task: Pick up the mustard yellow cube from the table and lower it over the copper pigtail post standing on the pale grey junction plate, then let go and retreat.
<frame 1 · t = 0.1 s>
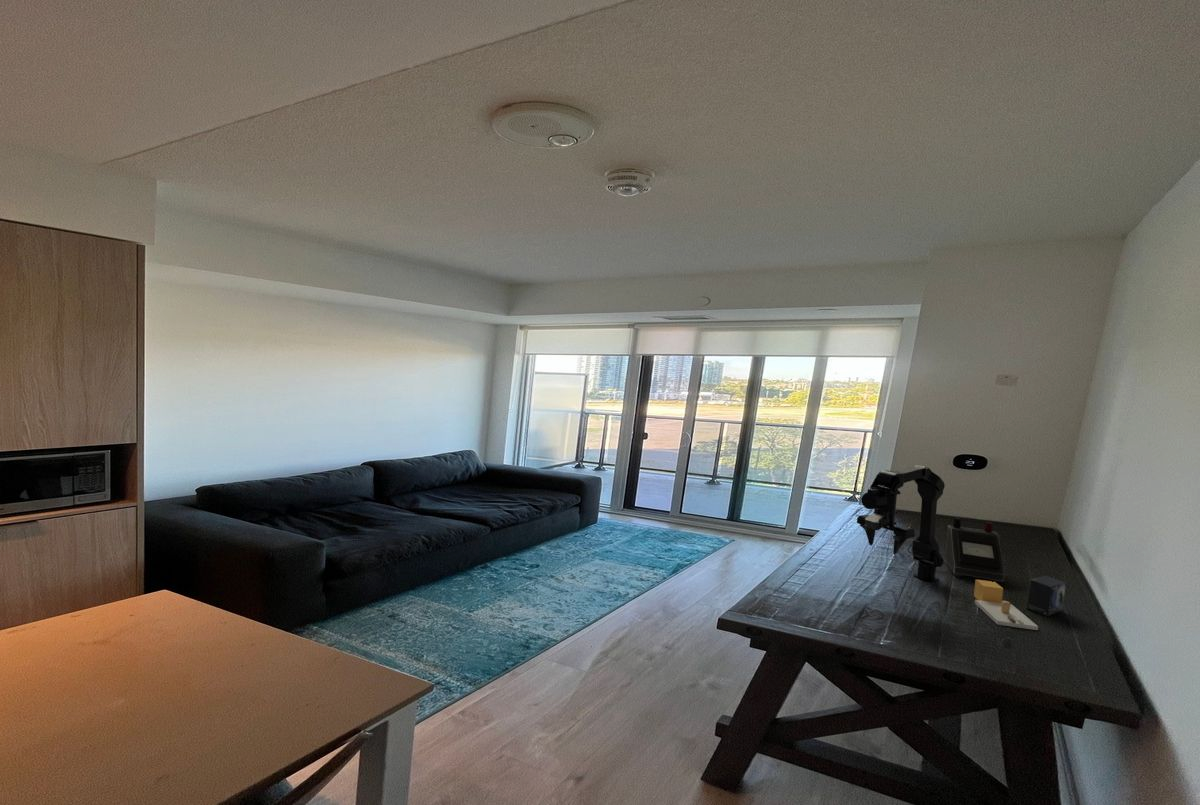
hand: (882, 549, 191), 15 cm above the table, fingers open, 9 cm apart
mustard yellow cube: (987, 600, 187), on the table
junction plate: (1004, 615, 175), on the table
small box: (1044, 611, 181), on the table
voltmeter: (972, 574, 212), on the table
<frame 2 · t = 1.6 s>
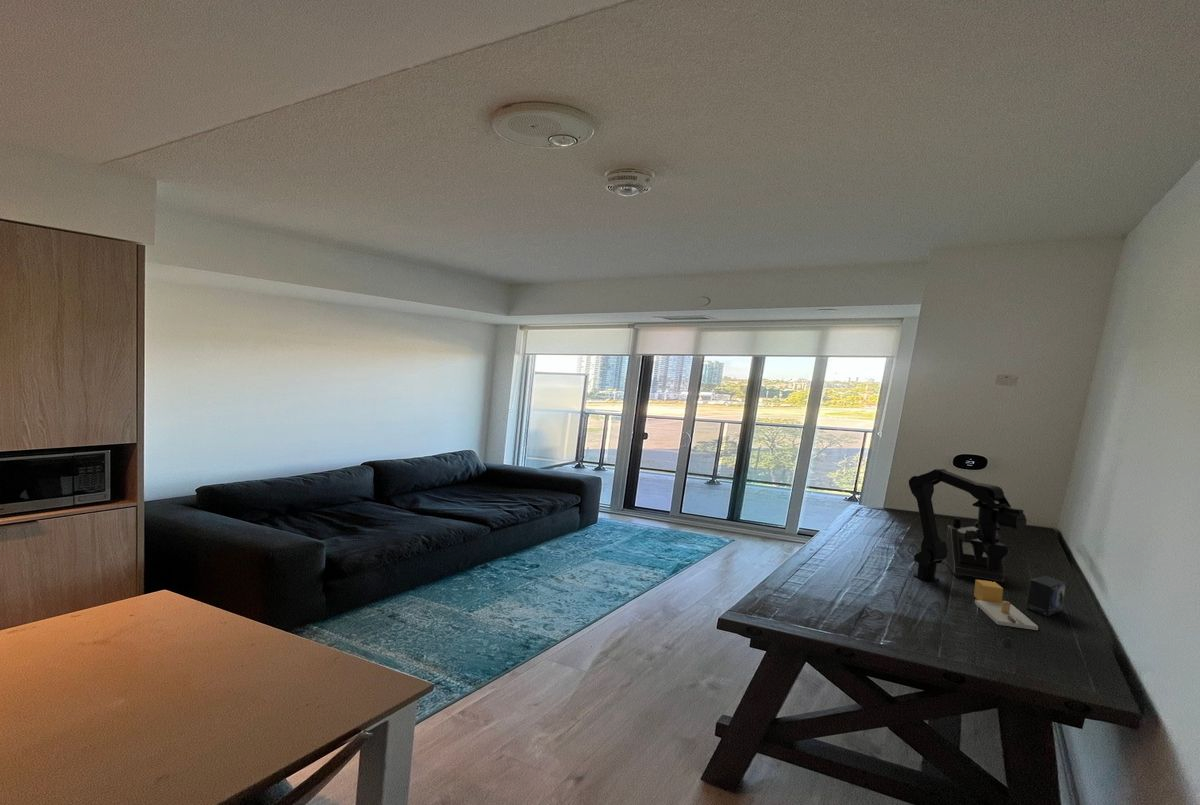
hand: (983, 565, 186), 12 cm above the table, fingers open, 9 cm apart
nothing on the table moved.
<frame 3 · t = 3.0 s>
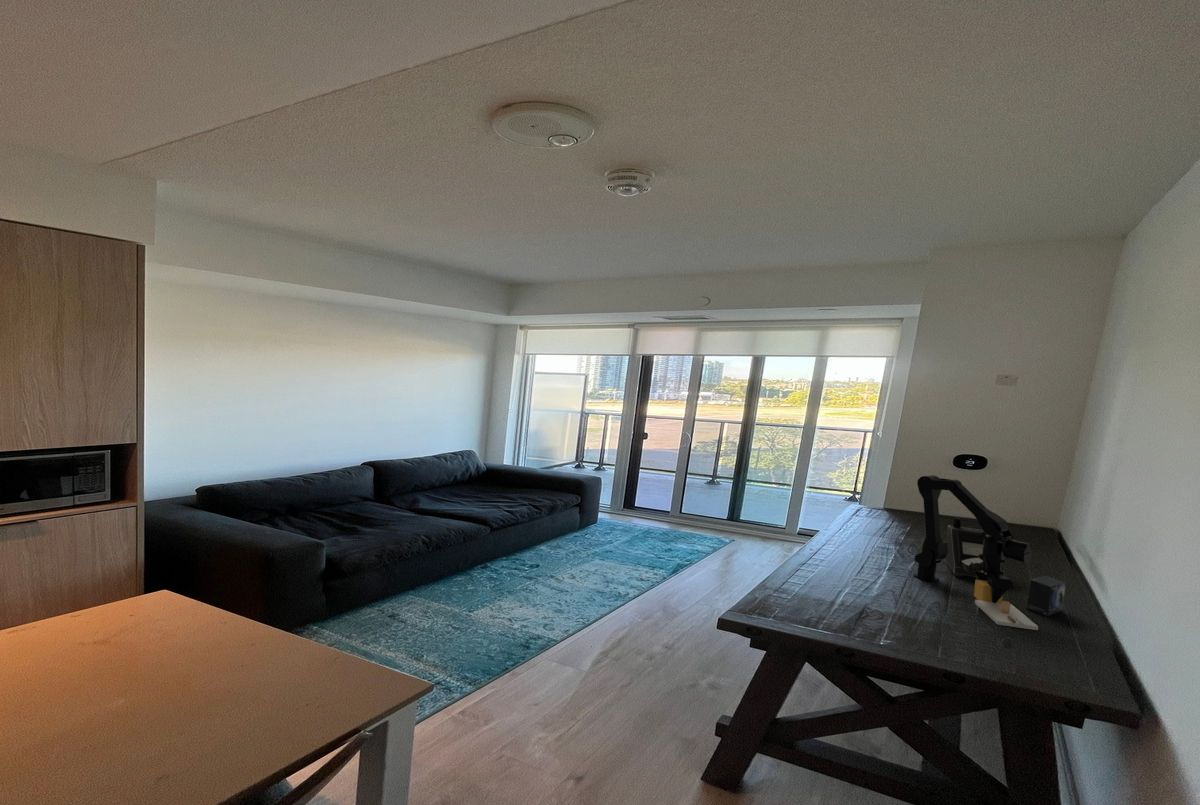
hand: (987, 597, 187), 1 cm above the table, fingers open, 9 cm apart
nothing on the table moved.
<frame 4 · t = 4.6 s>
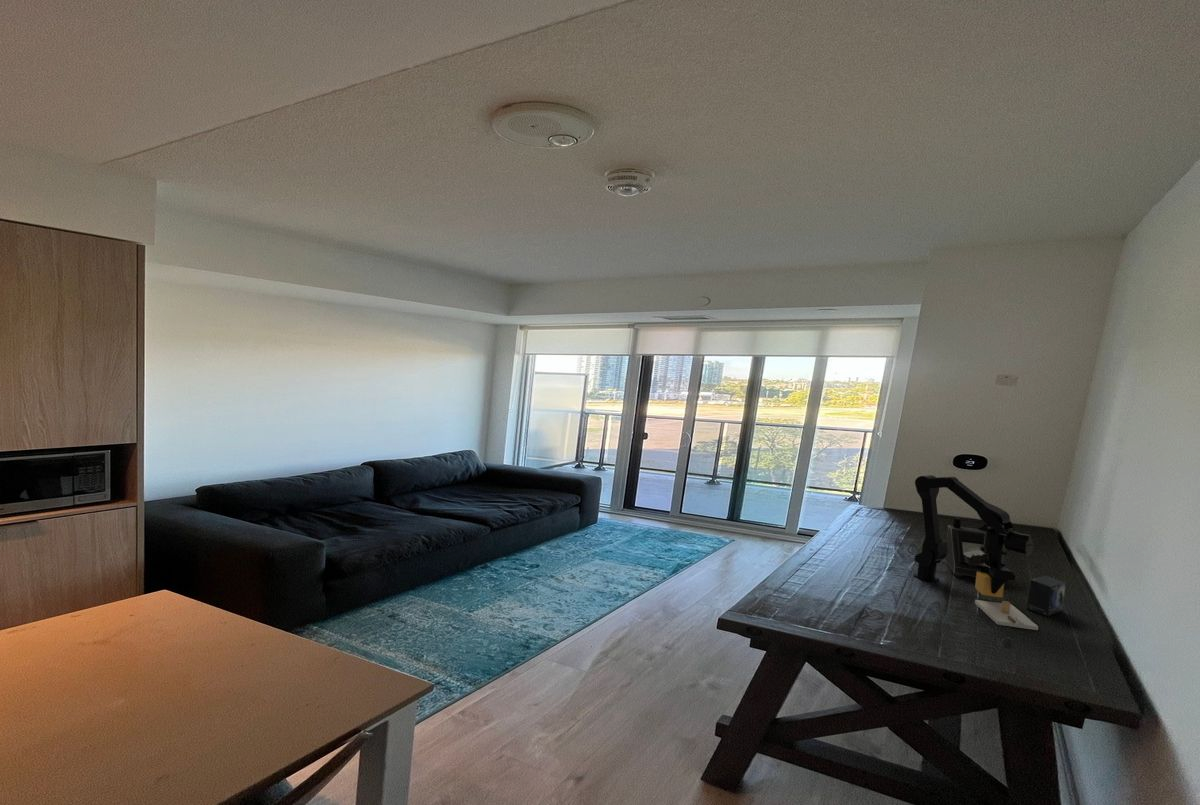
hand: (989, 589, 186), 4 cm above the table, fingers closed on mustard yellow cube, 6 cm apart
mustard yellow cube: (988, 592, 186), point 3 cm above the table, touching gripper
everything else where it was.
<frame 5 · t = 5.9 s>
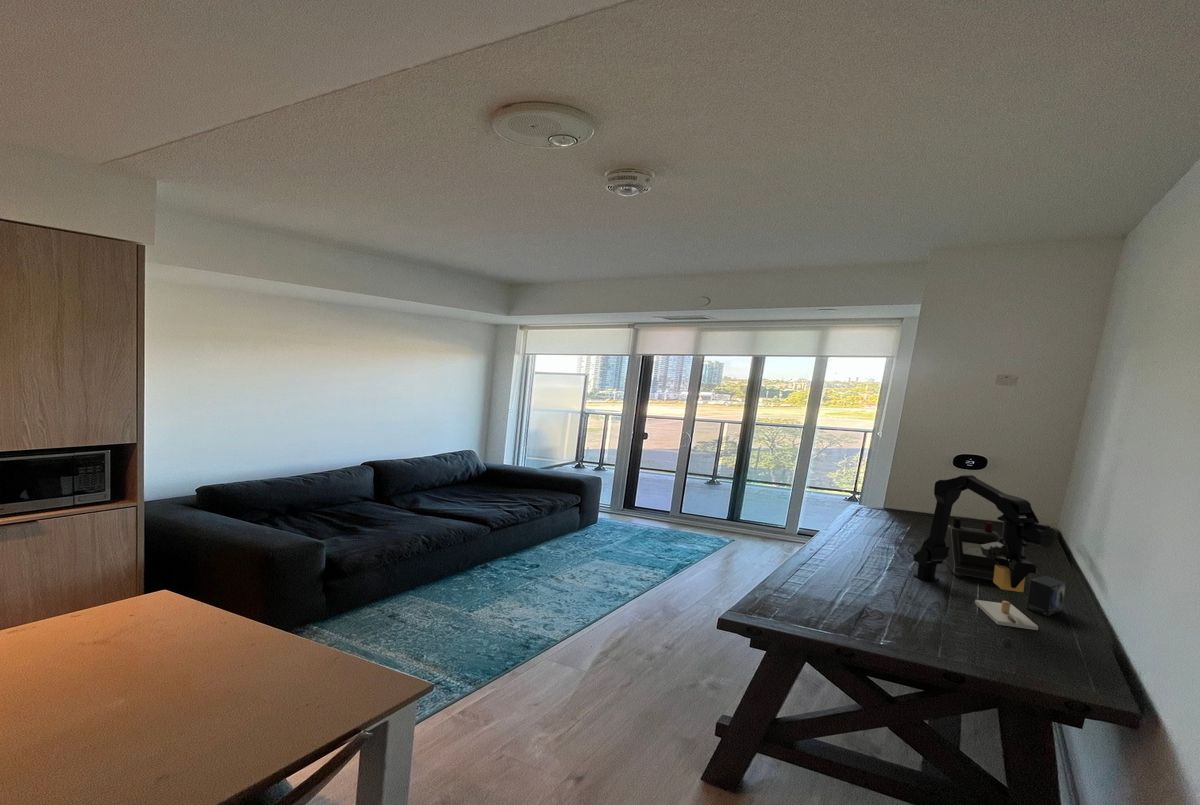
hand: (1008, 584, 174), 11 cm above the table, fingers closed on mustard yellow cube, 6 cm apart
mustard yellow cube: (1007, 587, 174), point 10 cm above the table, touching gripper
everything else where it was.
when the fingers open (3 cm above the table, at t = 8.2 s): mustard yellow cube drops 1 cm, resting on junction plate.
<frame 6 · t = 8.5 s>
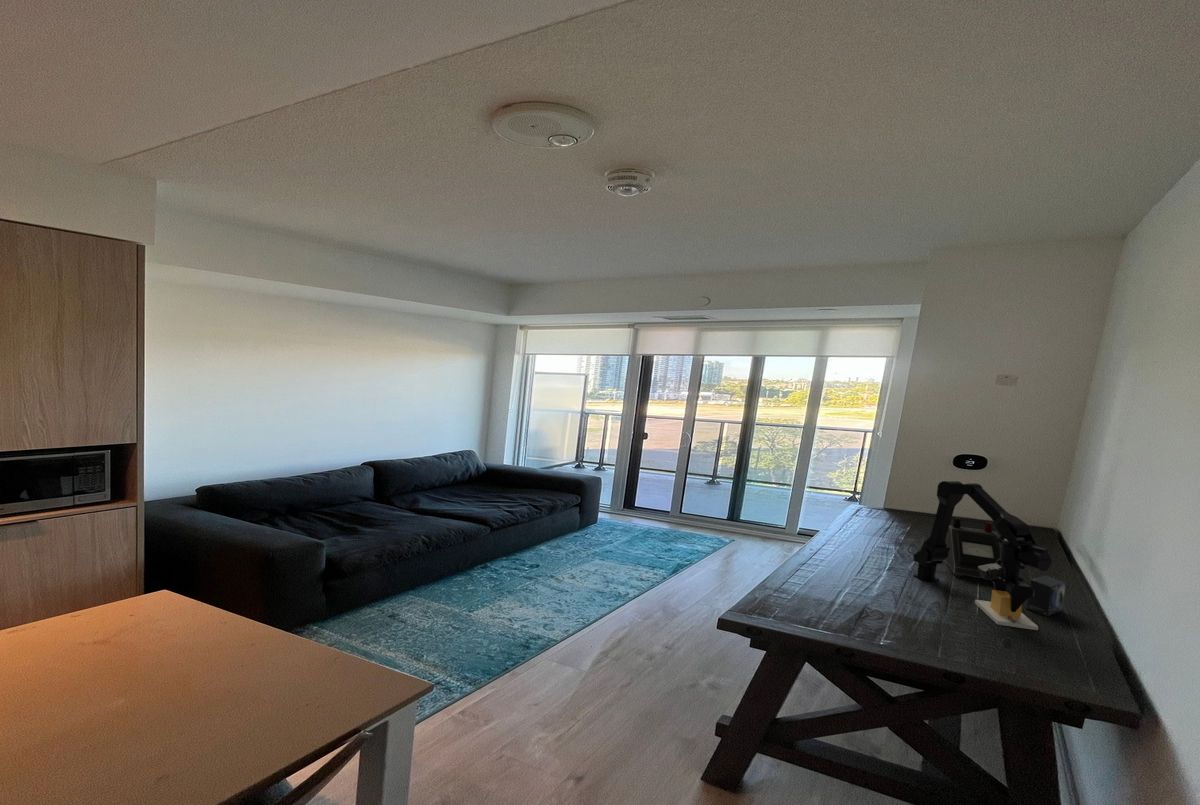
hand: (1005, 605, 175), 3 cm above the table, fingers open, 9 cm apart
mustard yellow cube: (1005, 612, 175), point 1 cm above the table, touching junction plate
everything else where it was.
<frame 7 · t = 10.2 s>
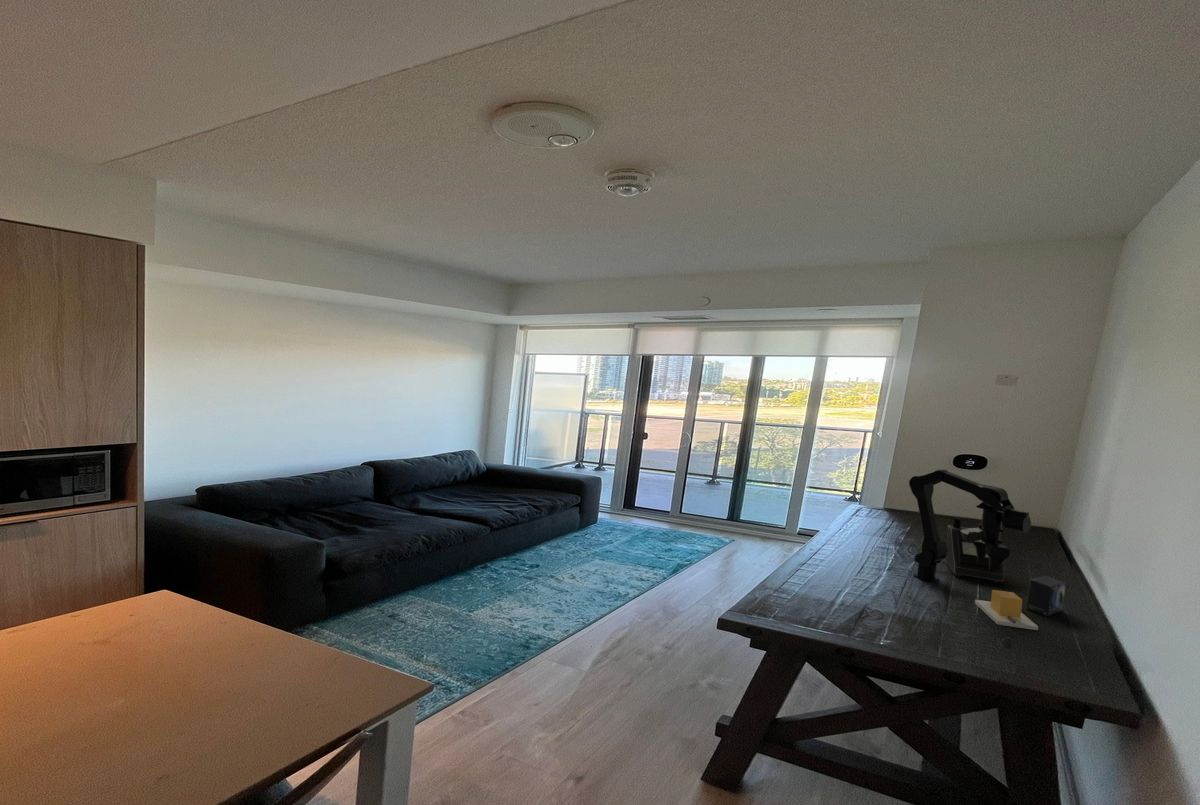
hand: (985, 566, 187), 12 cm above the table, fingers open, 9 cm apart
nothing on the table moved.
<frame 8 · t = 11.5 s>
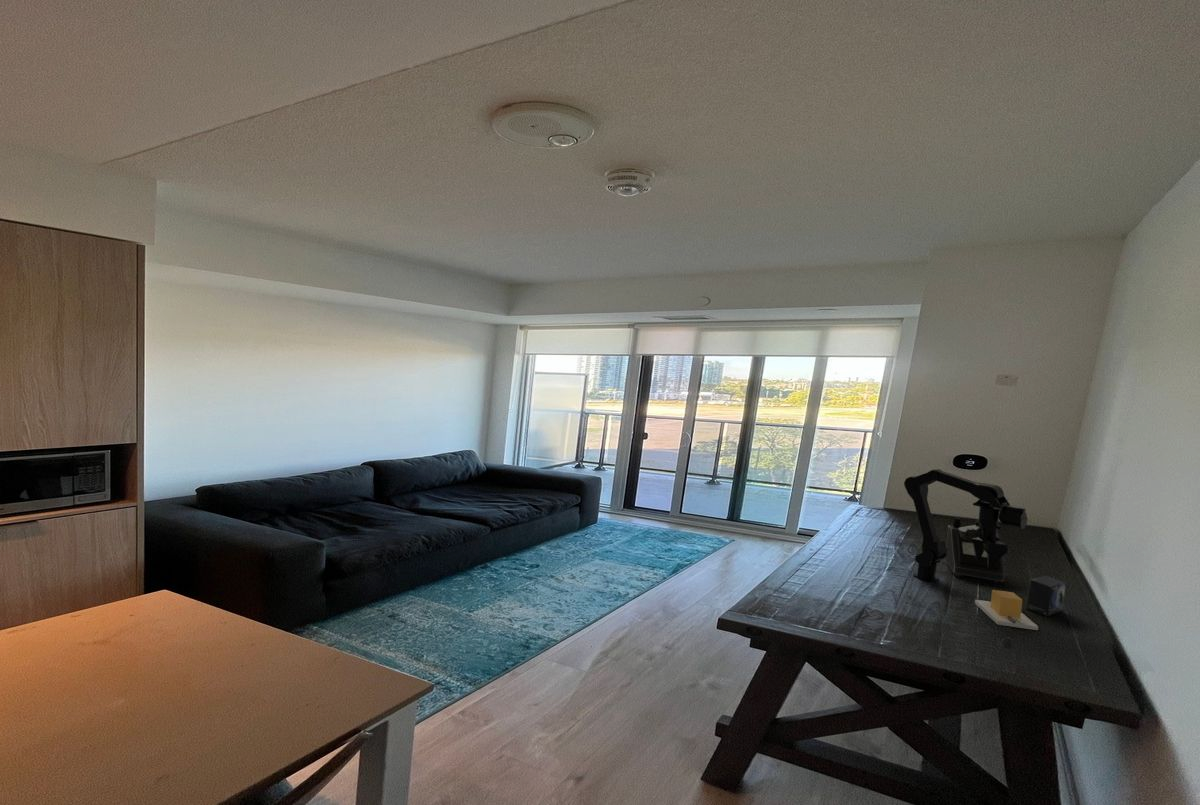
hand: (983, 563, 189), 12 cm above the table, fingers open, 9 cm apart
nothing on the table moved.
at the end: mustard yellow cube 0.0 cm off-centre on the junction plate, point 1.2 cm above the junction plate's base; mustard yellow cube tilted 0°; the gripper is holding nothing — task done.
